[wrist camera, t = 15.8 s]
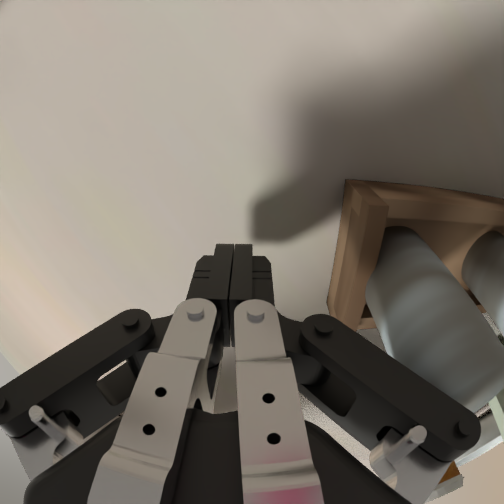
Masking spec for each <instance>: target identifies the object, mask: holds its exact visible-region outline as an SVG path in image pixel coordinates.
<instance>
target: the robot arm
mask: <svg viewBox="0 0 504 504" xmlns="http://www.w3.org/2000/svg"><path fill="white" fill-rule="evenodd" d="M230 340H231V341H232V347H235V356H236V381H237V402H238V411H234V412H228V413H223V414H214V402H215V397H216V392H217V386H218V381H219V376H220V371H221V366H222V356H223V347H230ZM124 360H126V361H127V362H126V363H124V364H123V365H122V366H120V367H119V368H117V369H116V370H114V371H113V372H111V373H110V374H108V375H107V376H105V377H104V378H102V379H101V380H99V381H97V380H98V379H99V378H100V377H101V376H102V375H103V374H105V373H106V372H108V371H109V370H111V369H112V368H114V367H115V366H117V365H118V364H120V363H121V362H123V361H124ZM298 391H299V392H300V393H301V394H303V395H304V396H305V397H306V398H307V399H308V400H309V401H311V402H312V403H313V404H314V405H315V406H316V407H317V408H319V409H320V410H321V411H322V412H323V413H325V414H326V415H327V416H328V417H329V418H330V419H332V420H333V421H334V422H335V423H336V424H338V425H339V426H340V427H341V428H342V429H344V430H345V431H346V432H347V433H349V434H350V435H351V436H352V437H354V438H355V439H356V440H357V441H359V442H360V443H361V444H362V445H364V446H365V447H366V448H368V449H369V450H370V451H371V453H370V457H369V461H370V465H371V467H372V469H373V470H374V471H375V473H376V474H377V475H378V476H379V477H377V476H376V475H375V474H374V473H372V472H371V471H370V470H369V469H368V468H366V467H365V466H364V465H363V464H362V463H360V462H359V461H358V460H357V459H356V458H355V457H354V456H352V455H351V454H350V453H349V452H348V451H347V450H346V449H344V448H343V447H342V446H341V445H340V444H339V443H338V442H337V441H335V440H334V439H333V438H332V437H331V436H330V435H329V434H328V433H327V432H325V431H324V430H323V429H321V428H320V427H318V426H317V425H315V424H313V423H311V422H309V421H306V420H304V417H303V412H302V407H301V402H300V397H299V392H298ZM123 411H125V412H124V414H123V415H122V416H118V415H119V414H121V413H122V412H123ZM0 428H1V430H3V431H4V432H5V433H6V435H8V436H9V437H10V439H11V440H12V443H13V445H14V448H15V450H16V452H17V454H18V457H19V459H20V461H21V463H22V465H23V467H24V469H25V471H26V473H27V475H28V477H29V479H30V481H31V482H30V483H29V485H28V486H27V488H26V491H25V495H24V504H424V503H425V502H426V500H427V499H428V498H429V496H430V495H431V493H432V492H433V490H434V489H435V488H436V486H437V485H438V483H439V482H440V480H441V478H442V477H443V475H444V474H445V472H446V471H447V469H448V467H449V466H450V464H451V463H452V462H453V461H454V460H455V459H457V458H458V457H460V456H461V455H463V454H464V453H465V452H467V451H468V450H470V449H471V448H472V447H474V446H475V445H476V444H477V442H478V441H479V439H480V436H481V424H480V421H479V419H478V417H477V416H476V415H475V414H474V413H473V412H472V411H470V410H469V409H467V408H466V407H464V406H463V405H461V404H460V403H458V402H457V401H456V400H454V399H453V398H451V397H450V396H448V395H447V394H445V393H444V392H442V391H441V390H439V389H438V388H436V387H435V386H434V385H432V384H431V383H429V382H428V381H426V380H425V379H423V378H422V377H420V376H419V375H417V374H416V373H414V372H413V371H412V370H410V369H409V368H407V367H406V366H404V365H403V364H401V363H400V362H398V361H397V360H396V359H394V358H393V357H391V356H390V355H388V354H387V353H385V352H384V351H382V350H381V349H380V348H378V347H377V346H375V345H374V344H372V343H371V342H369V341H368V340H367V339H365V338H364V337H362V336H361V335H359V334H358V333H356V332H355V331H354V330H352V329H351V328H349V327H348V326H346V325H345V324H343V323H342V322H341V321H339V320H338V319H336V318H334V317H332V316H329V315H325V314H316V315H312V316H309V317H307V318H306V319H305V320H304V321H303V322H299V321H294V320H291V319H288V318H286V317H284V316H282V315H281V314H280V313H279V312H278V311H277V310H276V308H275V304H274V294H273V282H272V273H271V263H270V262H269V260H268V259H267V258H266V257H265V256H252V244H235V250H234V244H216V248H215V252H214V256H207V255H204V256H203V257H202V258H201V259H200V260H199V261H198V262H197V263H196V267H195V272H194V274H193V278H192V280H191V284H190V287H189V291H188V294H187V298H186V301H183V302H182V303H180V304H179V305H178V306H177V307H176V309H175V312H174V314H173V315H170V316H167V317H162V318H156V319H151V317H150V315H149V314H148V313H147V312H146V311H144V310H141V309H129V310H126V311H123V312H121V313H120V314H118V315H116V316H115V317H113V318H111V319H110V320H108V321H107V322H105V323H103V324H102V325H100V326H98V327H97V328H95V329H93V330H92V331H90V332H89V333H87V334H85V335H84V336H82V337H80V338H79V339H77V340H76V341H74V342H72V343H71V344H69V345H68V346H66V347H64V348H63V349H61V350H59V351H58V352H56V353H55V354H53V355H51V356H50V357H48V358H47V359H45V360H43V361H42V362H40V363H39V364H37V365H36V366H34V367H32V368H31V369H29V370H28V371H26V372H24V373H23V374H21V375H20V376H18V377H17V378H15V379H13V380H12V381H10V382H9V383H7V384H6V385H4V386H3V387H1V388H0Z"/></svg>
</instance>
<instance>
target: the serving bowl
mask: <svg viewBox="0 0 504 504" xmlns="http://www.w3.org/2000/svg"><path fill="white" fill-rule="evenodd" d="M479 421H480V424H481V436H480V439H479V441H478V442H477V444H476V445H475V446H474V447H472V448H471V449H470V450H468V451H467V452H465V453H464V454H463V455H461V456H460V457H458V458H457V459H455V460H454V461H455V463H456V466H457V467H459V466H461V465H463V464H465V463H467V462H469V461H471V460H473V459H475V458H477V457H479V456H480V455H482V454H484V453H486V452H487V451H489V450H490V449H492V448H494V447H495V446H496V445H498V444H499V443H501V442H502V441H503V439H502V436H501V433H500V431H499V428H498V425H497V423H496V420H495V418H494V415H493V413H490V414H488V415H486V416H484V417H483V418H481V419H479Z"/></svg>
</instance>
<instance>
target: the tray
mask: <svg viewBox="0 0 504 504" xmlns="http://www.w3.org/2000/svg"><path fill="white" fill-rule="evenodd" d="M327 306H328V310H329V313H330V316H332V317H334V318H336V319H338V320H339V321H341V322H342V323H343V324H345V325H346V326H348V327H349V328H351V329H352V330H354V331H355V332H356V331H357V329H369V328H377V329H378V331H379V334H380V336H381V339H382V341H383V344H384V346H385V349H386V352H387V354H388V355H390V356H391V357H393V358H394V359H396V360H397V361H398V362H400V363H401V364H403V365H404V366H406V367H407V368H409V369H410V370H412V371H413V372H414V373H416V374H417V375H419V376H420V377H422V378H423V379H425V380H426V381H428V382H429V383H431V384H432V385H434V386H435V387H436V388H438V389H439V390H441V391H442V392H444V393H445V394H447V395H448V396H450V397H451V398H453V399H454V400H456V401H457V402H458V403H460V404H461V405H463V406H464V407H466V408H467V409H469V410H470V411H472V412H473V413H475V412H476V411H478V410H479V409H480V408H482V407H483V406H484V405H486V404H487V403H488V402H489V401H491V400H492V399H493V398H494V397H495V396H496V395H497V394H498V393H499V392H500V391H501V390H502V389H503V388H504V347H503V345H502V343H501V342H500V340H499V339H498V337H497V335H496V334H495V332H494V331H493V329H492V328H491V326H490V325H489V323H488V322H487V320H486V319H485V317H484V316H483V314H482V313H486V312H487V313H488V314H489V316H490V317H491V319H492V320H493V322H494V323H495V325H496V326H497V328H498V329H499V331H500V332H501V334H502V335H503V337H504V199H501V198H496V197H491V196H485V195H480V194H474V193H468V192H461V191H455V190H448V189H441V188H433V187H425V186H417V185H408V184H398V183H388V182H377V181H364V180H349V179H346V180H345V189H344V197H343V205H342V213H341V220H340V228H339V234H338V241H337V247H336V253H335V259H334V265H333V271H332V276H331V282H330V287H329V292H328V297H327Z"/></svg>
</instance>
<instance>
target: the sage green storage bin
mask: <svg viewBox="0 0 504 504" xmlns="http://www.w3.org/2000/svg"><path fill="white" fill-rule="evenodd" d="M502 345H503V347H504V344H502ZM488 403H489V406H490V408H491V410H492V413H493V415H494V418H495V420H496V423H497V425H498V428H499V431H500V433H501V436H502V439H503V441H504V388H503V389H502V390H501V391H500V392H499V393H498V394H497V395H496V396H495V397H494V398H493V399H492V400H491V401H489V402H488Z"/></svg>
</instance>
